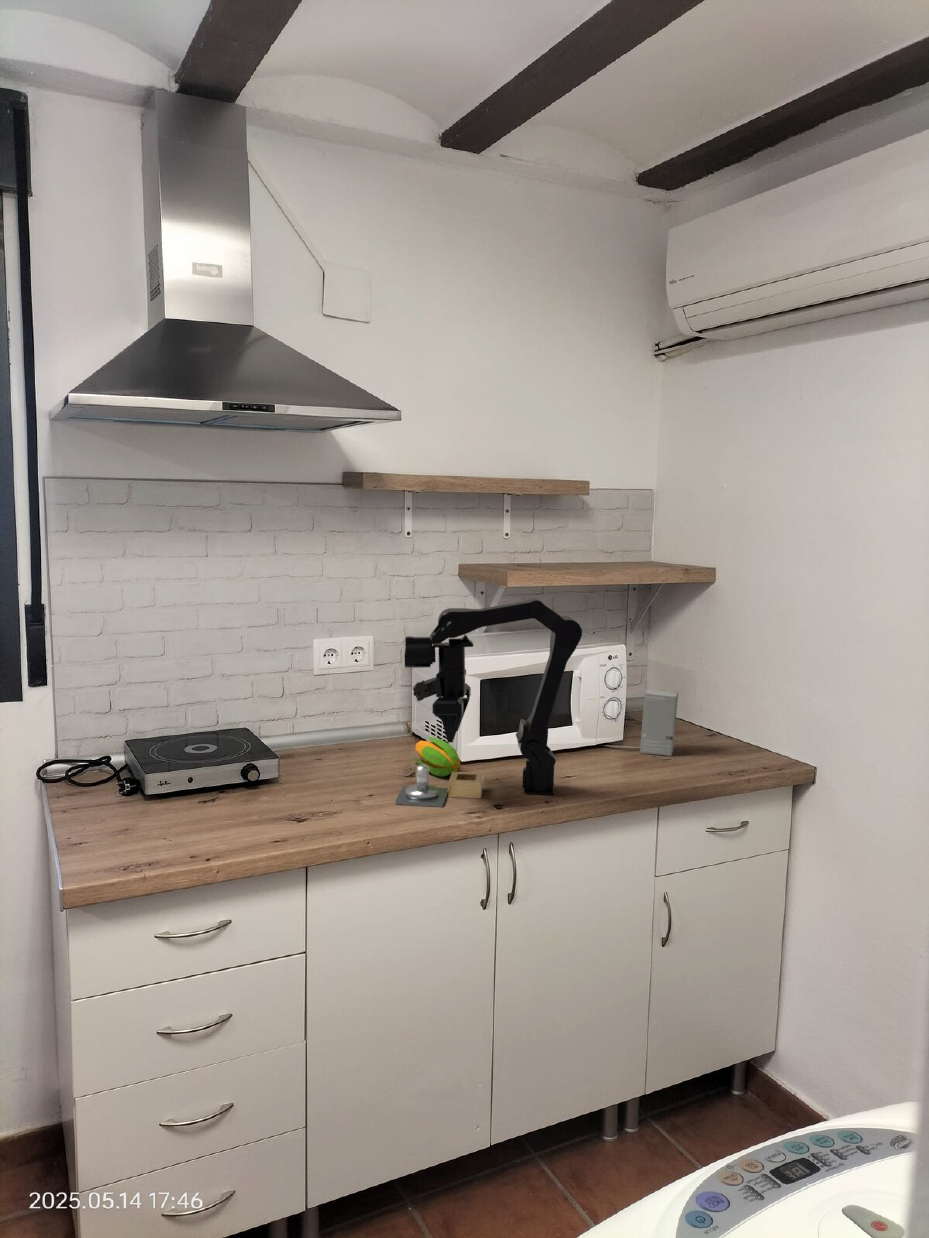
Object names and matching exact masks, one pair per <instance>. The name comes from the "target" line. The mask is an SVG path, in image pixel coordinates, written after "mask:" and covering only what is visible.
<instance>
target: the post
mask: <svg viewBox="0 0 929 1238" xmlns="http://www.w3.org/2000/svg"><path fill="white" fill-rule="evenodd" d="M429 776H430V772H429V766H428V764H427V765H420V764H418V765H416V784H413V785H403V786H402V788H401V790H400V791H399V793H398V794H397V797H396V799H395V802H394V803H395V805H396V804H402V805H403V806H419V807H420V806H421V807H438V808H439V807H440V808H443V806H444V804H445V801H446V798H447V795H448V794H449V787H437V786H435V785H432V784H429V783H430V782H429V780H430V779H429V778H430V777H429ZM402 805H401V806H402Z"/></svg>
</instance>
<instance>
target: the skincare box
mask: <svg viewBox="0 0 929 1238" xmlns="http://www.w3.org/2000/svg"><path fill="white" fill-rule="evenodd" d="M643 699H644V702H643V710H642V724H641V733H640V745H639V752H640V754H646V755H647V754H648V755H657V756H668V757H673V756H672V755H673V752H674V744H675V732H676V721H677V710H678V709H677V708H678V699H679V692H675V691H674V692H673V691H666V690H658V689H649V688H647V689H646V691H645V693H644V698H643Z"/></svg>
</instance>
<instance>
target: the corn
mask: <svg viewBox="0 0 929 1238" xmlns="http://www.w3.org/2000/svg"><path fill="white" fill-rule="evenodd" d="M427 739H428V740H429V741H428V740H427V741H426V740H419V741H418V742H417V743H415V748H414V749H415V752H416V753H417V754H418V756H419V757H420V759H421V760H422V761H421V760H419V759H417V758H416V757H415V756H414V755H412V757H411V758H413V760H414V761H415V763H417V764H418V765H428V766H429V774H430V773H431V775H434V776H436V777H438V778H441V777H447V776H449V777H451V774H452V772H459V771H460V770H461V761H460V760H461V759H460V757H459V754H458V753H457V749H456V748H454V747H453V746H452V745H450V743H449V742H446V741H444V740H442V739H441V738H438V737H437V738H436V737H432V736H427Z"/></svg>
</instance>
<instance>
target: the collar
mask: <svg viewBox="0 0 929 1238" xmlns="http://www.w3.org/2000/svg"><path fill="white" fill-rule="evenodd" d="M483 791H484V772H468V771H458V772H452V774H451V776H449V779H448V797H447V798H463V799H464V798H465V799H482V795H483Z"/></svg>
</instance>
